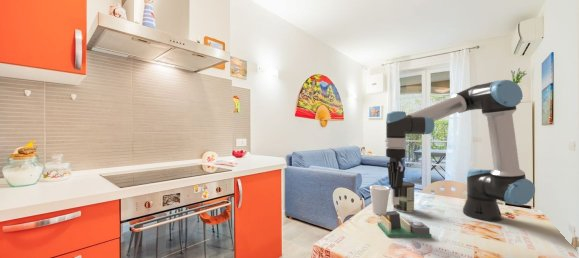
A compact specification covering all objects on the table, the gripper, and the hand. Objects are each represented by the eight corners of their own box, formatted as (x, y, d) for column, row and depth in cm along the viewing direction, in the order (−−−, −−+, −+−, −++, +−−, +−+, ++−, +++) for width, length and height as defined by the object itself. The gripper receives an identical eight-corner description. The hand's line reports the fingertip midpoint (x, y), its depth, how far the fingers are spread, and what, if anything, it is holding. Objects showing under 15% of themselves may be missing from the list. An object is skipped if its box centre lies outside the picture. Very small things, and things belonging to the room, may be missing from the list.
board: (416, 225, 109) (416, 215, 109) (431, 237, 97) (431, 225, 97) (377, 225, 109) (377, 214, 109) (387, 236, 97) (388, 224, 97)
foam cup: (389, 211, 128) (390, 186, 128) (388, 217, 119) (389, 190, 120) (370, 208, 132) (370, 184, 132) (368, 214, 123) (368, 188, 124)
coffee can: (396, 212, 127) (396, 184, 127) (391, 206, 137) (391, 180, 137) (417, 213, 126) (417, 185, 126) (410, 207, 136) (410, 181, 136)
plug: (396, 224, 106) (395, 210, 106) (400, 228, 102) (399, 214, 102) (387, 225, 106) (386, 211, 106) (391, 229, 102) (389, 214, 102)
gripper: (381, 146, 110) (380, 199, 110) (392, 149, 97) (392, 208, 97) (398, 147, 110) (397, 199, 110) (412, 149, 97) (411, 209, 97)
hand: (395, 203), depth 104 cm, fingers closed
